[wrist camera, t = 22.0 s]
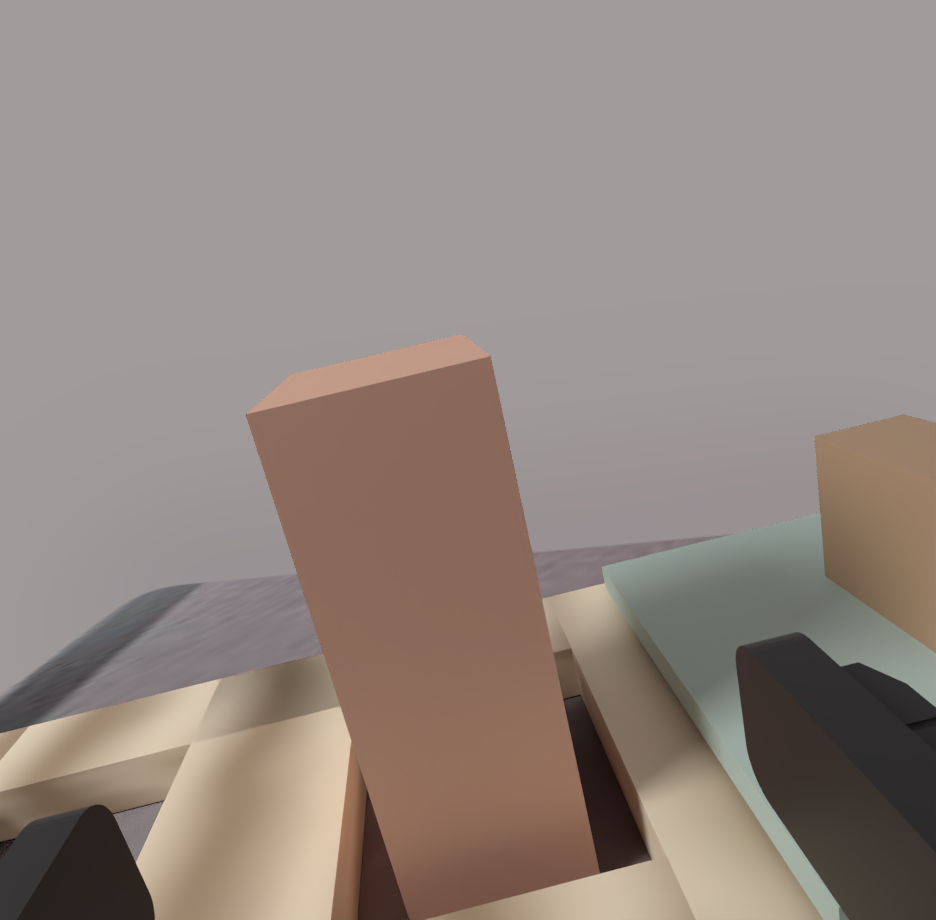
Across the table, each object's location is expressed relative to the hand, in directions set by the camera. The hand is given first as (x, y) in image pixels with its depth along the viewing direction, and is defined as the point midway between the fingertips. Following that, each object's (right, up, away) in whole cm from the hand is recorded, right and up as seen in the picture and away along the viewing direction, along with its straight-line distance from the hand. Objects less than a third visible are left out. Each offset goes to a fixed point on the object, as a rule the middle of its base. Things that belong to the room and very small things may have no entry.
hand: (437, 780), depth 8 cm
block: (+1, -7, +12) cm, 14 cm away
